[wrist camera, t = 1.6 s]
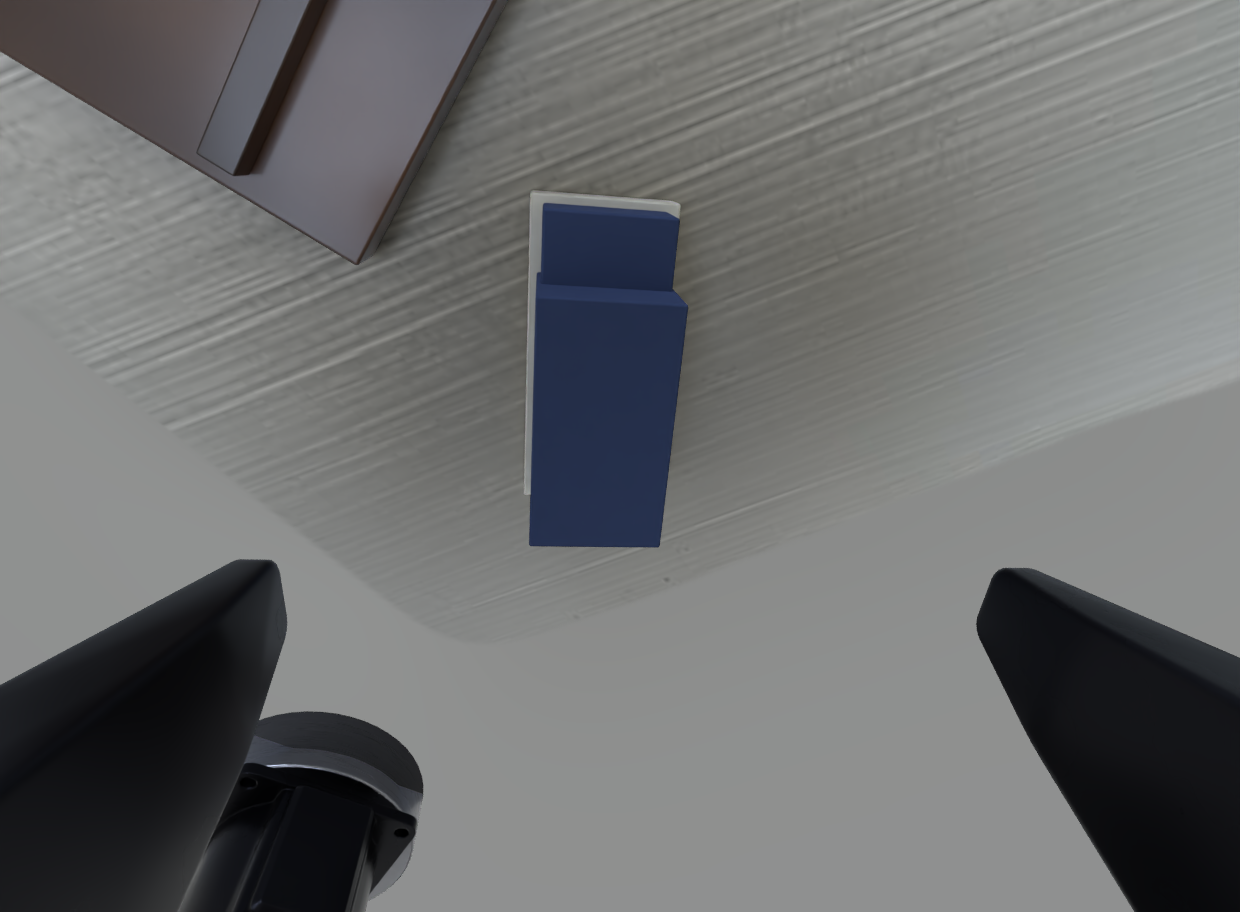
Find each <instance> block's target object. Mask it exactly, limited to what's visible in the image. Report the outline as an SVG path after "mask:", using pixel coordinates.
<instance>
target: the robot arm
mask: <svg viewBox="0 0 1240 912" xmlns="http://www.w3.org/2000/svg"><path fill="white" fill-rule="evenodd" d="M976 625H977V632H978V636H979V638H980V641H981V643H982V644H983V647H984V649H985V651H986V653H987V655H988V657H989V659H990V661H991V663H992V665H993V667H994V669H995V671H996V673H997V675H998V677H999V679H1000V681H1001V683H1002V685H1003V687H1004V689H1005V691H1006V693H1007V695H1008V697H1009V699H1010V701H1011V703H1012V705H1013V707H1014V710H1015V712H1016V714H1017V716H1018V717H1019V719H1020V722H1021V724H1022V725H1023V728H1024V729H1025V731H1026V733H1027V735H1028V737H1029V739H1030V741H1031V743H1032V744H1033V746H1034V747H1035V750H1036V751H1037V753H1038V755H1039V756H1040V758H1041V760H1042V762H1043V763H1044V765H1045V766H1046V768H1047V770H1048V771H1049V773H1050V774H1051V776H1052V778H1053V780H1054V781H1055V783H1056V784H1057V786H1058V788H1059V789H1060V791H1061V793H1062V794H1063V796H1064V798H1065V799H1066V801H1067V802H1068V804H1069V806H1070V807H1071V809H1072V811H1073V812H1074V814H1075V816H1076V817H1077V819H1078V820H1079V822H1080V824H1081V825H1082V827H1083V829H1084V830H1085V832H1086V833H1087V835H1088V837H1089V838H1090V840H1091V842H1092V843H1093V845H1094V847H1095V848H1096V850H1097V852H1098V853H1099V855H1100V856H1101V858H1102V860H1103V861H1104V863H1105V865H1106V866H1107V868H1108V870H1109V871H1110V873H1111V874H1112V876H1113V878H1114V879H1115V881H1116V883H1117V884H1118V886H1119V887H1120V889H1121V891H1122V892H1123V894H1124V896H1125V897H1126V899H1127V900H1128V902H1129V904H1130V905H1131V907H1132V909H1133V910H1134V912H1240V658H1239V657H1237V656H1234V655H1232V654H1230V653H1227V652H1225V651H1223V650H1220V649H1218V648H1216V647H1213V646H1211V645H1209V644H1206V643H1204V642H1202V641H1199V640H1197V639H1195V638H1192V637H1190V636H1188V635H1186V634H1183V633H1181V632H1179V631H1176V630H1174V629H1172V628H1169V627H1167V626H1165V625H1162V624H1160V623H1157V622H1155V621H1153V620H1151V619H1148V618H1146V617H1144V616H1141V615H1139V614H1137V613H1134V612H1132V611H1130V610H1127V609H1125V608H1123V607H1120V606H1118V605H1116V604H1114V603H1111V602H1109V601H1107V600H1104V599H1102V598H1100V597H1097V596H1095V595H1093V594H1090V593H1088V592H1086V591H1083V590H1081V589H1079V588H1076V587H1074V586H1072V585H1069V584H1067V583H1065V582H1062V581H1060V580H1058V579H1055V578H1053V577H1051V576H1048V575H1046V574H1044V573H1042V572H1039V571H1037V570H1034V569H1030V568H1003V569H1001V570H998V571H997V572H996V573H995V574H994V576H993V578H992V579H991V582H990V585H989V588H988V590H987V593H986V595H985V598H984V600H983V603H982V606H981V608H980V611H979V614H978V617H977V623H976ZM286 631H287V615H286V608H285V602H284V596H283V590H282V583H281V577H280V572H279V569H278V567H277V564H276V563H274V562H273V561H272V560H244V559H243V560H242V559H240V560H236V561H233V562H231V563H229V564H227V565H225V566H223V567H221V568H220V569H218V570H216V571H214V572H212V573H210V574H208V575H206V576H205V577H203V578H201V579H199V580H197V581H195V582H194V583H191V584H190V585H188V586H186V587H184V588H182V589H180V590H178V591H176V592H174V593H173V594H171V595H169V596H167V597H165V598H163V599H161V600H159V601H157V602H156V603H154V604H152V605H150V606H148V607H146V608H144V609H142V610H141V611H139V612H137V613H135V614H133V615H131V616H129V617H127V618H126V619H124V620H122V621H120V622H118V623H116V624H114V625H112V626H110V627H109V628H107V629H105V630H103V631H101V632H99V633H97V634H95V635H94V636H92V637H90V638H88V639H86V640H84V641H82V642H81V643H79V644H77V645H75V646H73V647H71V648H69V649H67V650H65V651H63V652H62V653H60V654H58V655H56V656H54V657H52V658H50V659H48V660H47V661H45V662H43V663H41V664H39V665H37V666H35V667H33V668H32V669H30V670H28V671H26V672H24V673H22V674H20V675H18V676H17V677H15V678H13V679H11V680H9V681H7V682H5V683H3V684H2V685H0V912H365V911H366V906H367V902H368V898H369V895H370V893H371V892H372V891H373V889H374V888H375V887H376V886H377V884H378V883H379V882H380V880H381V879H382V878H383V877H384V875H385V874H386V873H387V871H388V870H389V869H390V868H391V866H392V865H393V864H394V863H395V861H396V860H397V859H398V857H399V856H400V855H401V854H402V852H403V851H404V850H405V848H406V847H407V846H408V845H409V843H410V842H411V841H412V839H413V838H414V837H415V834H416V830H417V824H418V823H417V819H416V818H415V817H414V816H412V815H410V814H408V813H405V812H402V811H399V810H396V809H393V808H390V807H387V806H384V805H381V804H378V803H375V802H372V801H369V800H366V799H363V798H360V797H357V796H354V795H351V794H348V793H345V792H342V791H339V790H336V789H333V788H330V787H327V786H324V785H321V784H318V783H315V782H312V781H309V780H306V779H303V778H300V777H297V776H294V775H291V774H288V773H285V772H282V771H279V770H276V769H273V768H270V767H267V766H264V765H261V764H258V763H253V762H252V763H245V764H244V762H245V760H246V757H247V754H248V752H249V749H250V746H251V743H252V740H253V737H254V734H255V731H256V728H257V724H258V721H259V718H260V715H261V711H262V709H263V706H264V703H265V699H266V696H267V693H268V690H269V687H270V683H271V680H272V678H273V674H274V671H275V668H276V665H277V662H278V659H279V655H280V652H281V649H282V646H283V643H284V640H285V636H286Z"/></svg>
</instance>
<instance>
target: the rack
mask: <svg viewBox="0 0 1240 912" xmlns="http://www.w3.org/2000/svg"><path fill="white" fill-rule="evenodd" d="M507 1H508V0H0V52H2V53H4V54H5V55H7V56H9V57H10V58H12V59H14V60H15V61H17V62H19V63H20V64H22V65H24V66H25V67H27V68H29V69H30V70H32V71H34V72H35V73H37V74H39V75H40V76H42V77H44V78H45V79H47V80H49V81H50V82H52V83H54V84H55V85H57V86H59V87H60V88H62V89H64V90H65V91H67V92H69V93H70V94H72V95H74V96H75V97H77V98H79V99H80V100H82V101H84V102H85V103H87V104H88V105H90V106H92V107H93V108H95V109H97V110H98V111H100V112H102V113H103V114H105V115H107V116H108V117H110V118H112V119H113V120H115V121H117V122H118V123H120V124H122V125H123V126H125V127H127V128H128V129H130V130H132V131H133V132H135V133H137V134H138V135H140V136H142V137H143V138H145V139H147V140H148V141H150V142H152V143H153V144H155V145H157V146H158V147H160V148H162V149H163V150H165V151H167V152H168V153H170V154H172V155H173V156H175V157H177V158H178V159H180V160H182V161H183V162H185V163H187V164H188V165H190V166H192V167H193V168H195V169H197V170H198V171H200V172H202V173H203V174H205V175H207V176H208V177H210V178H212V179H213V180H215V181H217V182H218V183H220V184H222V185H223V186H225V187H227V188H228V189H230V190H232V191H233V192H235V193H237V194H238V195H240V196H242V197H243V198H245V199H247V200H248V201H250V202H252V203H253V204H255V205H257V206H258V207H260V208H262V209H263V210H265V211H266V212H268V213H270V214H271V215H273V216H275V217H276V218H278V219H280V220H281V221H283V222H285V223H286V224H288V225H290V226H291V227H293V228H295V229H296V230H298V231H300V232H301V233H303V234H305V235H306V236H308V237H310V238H311V239H313V240H315V241H316V242H318V243H320V244H321V245H323V246H325V247H326V248H328V249H330V250H331V251H333V252H335V253H336V254H338V255H340V256H341V257H343V258H345V259H346V260H348V261H350V262H351V263H353V264H355V265H359V264H360V263H362V262H363V261H365V260H367V259H368V258H370V257H371V256H373V254H374V252H375V250H376V249H377V247H378V245H379V243H380V241H381V239H382V237H383V235H384V233H385V232H386V230H387V228H388V226H389V224H390V222H391V220H392V218H393V216H394V215H395V213H396V211H397V209H398V207H399V205H400V203H401V201H402V199H403V198H404V196H405V194H406V192H407V190H408V188H409V186H410V184H411V182H412V180H413V179H414V177H415V175H416V173H417V171H418V169H419V167H420V165H421V163H422V162H423V160H424V158H425V156H426V154H427V152H428V150H429V148H430V146H431V145H432V143H433V141H434V139H435V137H436V135H437V133H438V131H439V129H440V127H441V126H442V124H443V122H444V120H445V118H446V116H447V114H448V112H449V110H450V109H451V107H452V105H453V103H454V101H455V99H456V97H457V95H458V93H459V92H460V90H461V88H462V86H463V84H464V82H465V80H466V78H467V76H468V75H469V73H470V71H471V69H472V67H473V65H474V63H475V61H476V59H477V57H478V56H479V54H480V52H481V50H482V48H483V46H484V44H485V42H486V40H487V39H488V37H489V35H490V33H491V31H492V29H493V27H494V25H495V23H496V22H497V20H498V18H499V16H500V14H501V12H502V10H503V8H504V6H505V5H506V3H507Z"/></svg>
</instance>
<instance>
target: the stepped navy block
mask: <svg viewBox="0 0 1240 912" xmlns="http://www.w3.org/2000/svg"><path fill="white" fill-rule="evenodd" d="M680 208H681V206H680V204H679V203H676V202H674V201H668V200H655V199H642V198H629V197H616V196H603V195H591V194H578V193H565V192H552V191H539V190H532V191H531V193H530V221H529V269H528V317H527V365H526V413H525V461H524V494H525V495H530V532H529V545H530V546H565V547H659V546H660V538H661V530H662V522H663V513H664V505H665V497H666V488H667V480H668V472H669V463H670V455H671V446H672V438H673V430H674V421H675V413H676V405H677V396H678V388H679V380H680V371H681V363H682V354H683V346H684V338H685V329H686V321H687V313H688V305H687V304H686V303H685V302H684V301H683V300H682V299H681V298H680V296H679V295H678V294H677V293H676V292H675V291H674V290H673V289H672V287H673V278H674V269H675V260H676V250H677V241H678V232H679V223H680V220H679V217H680Z"/></svg>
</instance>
